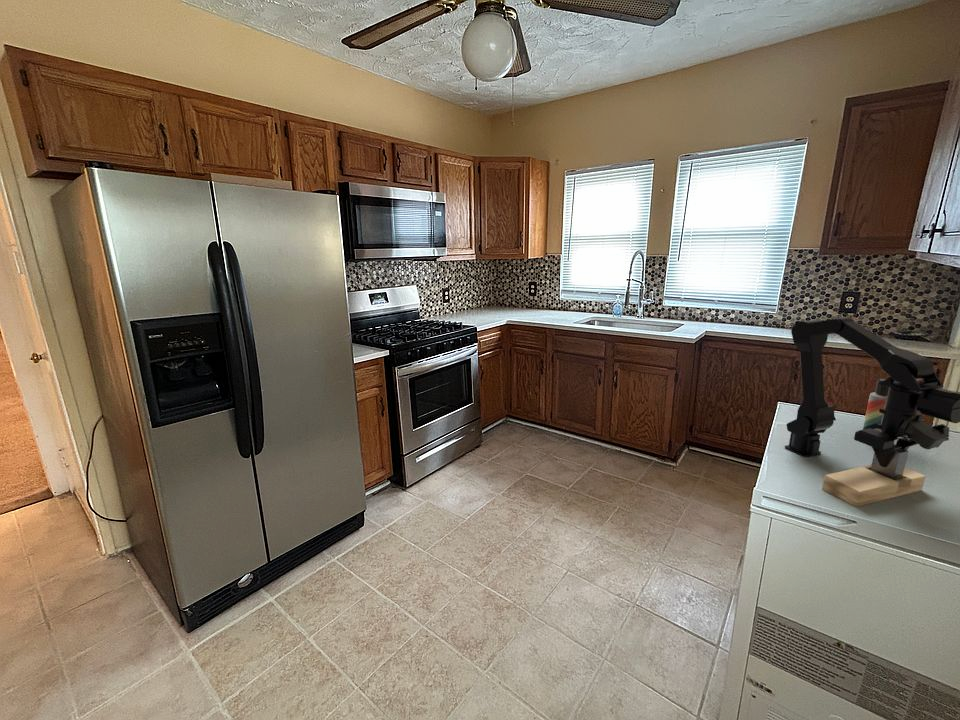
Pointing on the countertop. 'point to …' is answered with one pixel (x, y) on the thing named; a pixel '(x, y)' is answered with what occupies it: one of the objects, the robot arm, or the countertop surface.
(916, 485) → the slotted wooden block
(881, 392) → the lotion bottle
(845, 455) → the countertop surface
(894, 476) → the grey gripped block
